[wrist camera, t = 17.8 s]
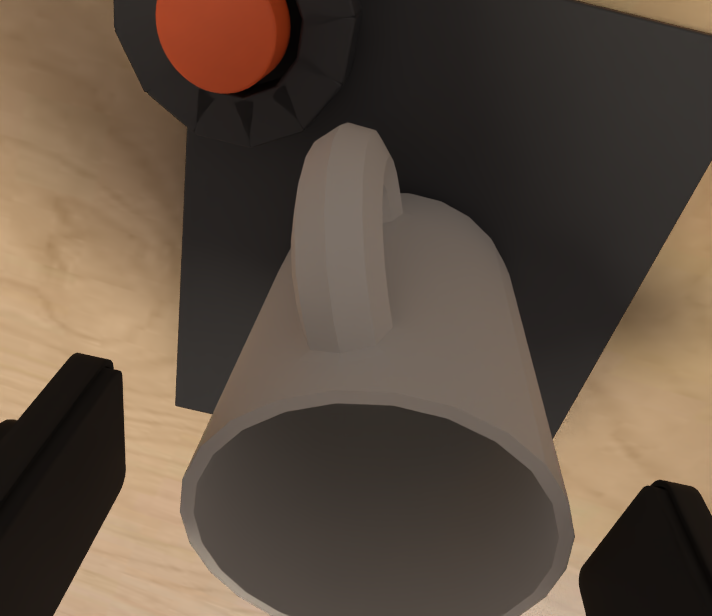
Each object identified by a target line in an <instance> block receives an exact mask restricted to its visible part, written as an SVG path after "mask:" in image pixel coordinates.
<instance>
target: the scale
mask: <svg viewBox="0 0 712 616" xmlns="http://www.w3.org/2000/svg"><path fill="white" fill-rule="evenodd" d="M286 2H287V5H288V9H289V14H290V22H291V31H290V39H289V44H288V47H287V50H286V52H285V54H284V56H283V58H282V60H281V61H280V63H279V64H278V65H277V66H276V67H275V69H273V70H272V71H271V72H270V73H269V74H267V75H266V76H265V77H263V78H262V79H261V80H260V81H258V82H257V83H256V84H254V85H253V86H251V87H250V88H248V89H245V90H243V91H240V92H237V93H230V94H219V93H214V92H210V91H207V90H204V89H202V88H199V87H197V86H196V85H194V84H192V83H191V82H189V81H188V80H187V79H186V78H184V77H183V76H182V75H181V74H180V73H179V72H178V71H177V70H176V69H175V67H174V66H173V65H172V64H171V62H170V61H169V59H168V58H167V56H166V54H165V52H164V50H163V48H162V45H161V43H160V40H159V36H158V33H157V27H156V4H157V0H114V28H115V32H116V34H117V36H118V38H119V40H120V42H121V44H122V47H123V49H124V51H125V53H126V55H127V57H128V59H129V61H130V63H131V65H132V67H133V69H134V71H135V73H136V75H137V77H138V79H139V81H140V83H141V86H142V88H143V90H144V91H145V92H147V93H148V94H149V95H150V96H151V97H152V98H153V99H154V100H155V101H157V102H158V103H159V104H160V105H161V106H163V107H164V108H165V109H166V110H167V111H168V112H170V113H171V114H172V115H173V116H174V117H176V118H177V119H178V120H179V121H180V122H182V123H183V124H184V125H185V126H186V127H187V142H186V165H185V189H184V212H183V236H182V259H181V282H180V306H179V329H178V353H177V376H176V400H175V405H176V406H178V407H183V408H187V409H192V410H196V411H200V412H205V413H209V414H213V412H214V410H215V408H216V405H217V403H218V401H219V399H220V397H221V395H222V393H223V390H224V388H225V386H226V384H227V382H228V380H229V377H230V375H231V373H232V371H233V369H234V367H235V364H236V362H237V360H238V358H239V356H240V354H241V351H242V349H243V347H244V345H245V343H246V341H247V338H248V336H249V334H250V332H251V330H252V328H253V326H254V323H255V321H256V319H257V317H258V315H259V313H260V310H261V308H262V306H263V304H264V302H265V300H266V297H267V295H268V293H269V291H270V289H271V287H272V284H273V282H274V280H275V278H276V276H277V274H278V272H279V270H280V268H281V266H282V264H283V262H284V260H285V258H286V256H287V254H288V252H289V250H290V248H291V235H292V226H293V217H294V208H295V202H296V195H297V189H298V183H299V179H300V176H301V172H302V168H303V165H304V161H305V157H306V155H307V154H308V152H309V150H310V148H311V147H312V145H313V143H314V142H315V141H316V140H318V139H319V138H321V137H322V136H324V135H326V134H327V133H329V132H330V131H332V130H333V129H335V128H337V127H338V126H340V125H342V124H345V123H352V124H355V125H359V126H363V127H366V128H370V129H373V130H376V131H377V133H378V134H379V136H380V137H381V139H382V141H383V142H384V144H385V146H386V148H387V150H388V152H389V153H390V155H391V157H392V159H393V161H394V165H395V168H396V172H397V177H398V183H399V188H400V193H410V194H414V195H418V196H422V197H426V198H430V199H434V200H438V201H441V202H443V203H445V204H447V205H448V206H450V207H452V208H454V209H456V210H457V211H459V212H461V213H463V214H465V215H466V216H468V217H470V218H471V219H472V220H473V221H474V222H475V223H476V224H477V225H478V226H479V227H480V228H481V229H482V230H483V231H484V232H485V233H486V234H487V235H488V236H489V237H490V238H491V239H492V241H493V243H494V245H495V247H496V249H497V250H498V252H499V254H500V256H501V258H502V260H503V261H504V263H505V266H506V268H507V270H508V273H509V275H510V279H511V283H512V287H513V291H514V294H515V298H516V302H517V306H518V310H519V314H520V317H521V321H522V325H523V329H524V333H525V336H526V340H527V344H528V348H529V352H530V356H531V359H532V363H533V367H534V371H535V375H536V378H537V382H538V386H539V390H540V394H541V398H542V401H543V405H544V409H545V413H546V417H547V420H548V424H549V428H550V432H551V436H552V439H553V438H554V436H555V434H556V432H557V431H558V429H559V427H560V425H561V424H562V422H563V420H564V418H565V417H566V415H567V413H568V411H569V410H570V408H571V406H572V404H573V403H574V401H575V399H576V397H577V396H578V394H579V392H580V390H581V389H582V387H583V385H584V383H585V382H586V380H587V378H588V376H589V375H590V373H591V371H592V369H593V368H594V366H595V364H596V362H597V361H598V359H599V357H600V355H601V354H602V352H603V350H604V348H605V346H606V345H607V343H608V341H609V339H610V338H611V336H612V334H613V332H614V331H615V329H616V327H617V325H618V324H619V322H620V320H621V318H622V317H623V315H624V313H625V311H626V310H627V308H628V306H629V304H630V303H631V301H632V299H633V297H634V296H635V294H636V292H637V290H638V289H639V287H640V285H641V283H642V282H643V280H644V278H645V276H646V275H647V273H648V271H649V269H650V268H651V266H652V264H653V262H654V261H655V259H656V257H657V255H658V254H659V252H660V250H661V248H662V247H663V245H664V243H665V241H666V240H667V238H668V236H669V234H670V233H671V231H672V229H673V227H674V226H675V224H676V222H677V220H678V218H679V217H680V215H681V213H682V211H683V210H684V208H685V206H686V204H687V203H688V201H689V199H690V197H691V196H692V194H693V192H694V190H695V189H696V187H697V185H698V183H699V182H700V180H701V178H702V176H703V175H704V173H705V171H706V169H707V168H708V166H709V164H710V162H711V161H712V34H709V33H705V32H701V31H697V30H693V29H689V28H685V27H681V26H677V25H673V24H669V23H665V22H661V21H657V20H653V19H649V18H645V17H641V16H637V15H633V14H629V13H625V12H621V11H617V10H613V9H609V8H605V7H601V6H597V5H593V4H589V3H585V2H581V1H577V0H286Z"/></svg>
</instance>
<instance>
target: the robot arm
mask: <svg viewBox="0 0 712 616" xmlns="http://www.w3.org/2000/svg"><path fill="white" fill-rule="evenodd" d="M125 473H126V465H125V437H124V409H123V381H122V373H121V371H119V370H114V367H113V363H112V361H111V360H108V359H104V358H99V357H95V356H90V355H85V354H81V353H75V354H73V355H72V356H71V357H70V358H69V359H68V360H67V361H66V363H65V364H64V365H63V366H62V367H61V369H60V370H59V371H58V372H57V373H56V375H55V376H54V377H53V378H52V379H51V381H50V382H49V383H48V384H47V385H46V387H45V388H44V389H43V390H42V392H41V393H40V394H39V395H38V396H37V398H36V399H35V400H34V401H33V402H32V404H31V405H30V406H29V407H28V408H27V410H26V411H25V412H24V413H23V414H22V416H21V417H20V418H19V419H18V420H5V421H3V422H1V423H0V616H53V615H54V613H55V611H56V609H57V608H58V606H59V604H60V602H61V600H62V598H63V596H64V595H65V593H66V591H67V589H68V587H69V585H70V583H71V582H72V580H73V578H74V576H75V574H76V572H77V570H78V569H79V567H80V565H81V563H82V561H83V559H84V557H85V556H86V554H87V552H88V550H89V548H90V546H91V544H92V543H93V541H94V539H95V537H96V535H97V533H98V531H99V530H100V528H101V526H102V524H103V522H104V520H105V518H106V517H107V515H108V513H109V511H110V509H111V507H112V505H113V504H114V502H115V500H116V498H117V496H118V494H119V492H120V490H121V488H122V485H123V482H124V479H125ZM579 588H580V592H581V596H582V600H583V604H584V608H585V612H586V616H712V516H711V514H710V512H709V510H708V508H707V506H706V504H705V502H704V500H703V498H702V496H701V494H700V493H699V492H698V490H697V489H695V488H694V487H691V486H687V485H682V484H678V483H673V482H668V481H664V480H657V481H655V482H654V483H653V484H651V486H645V487H644V488H643V489H642V490H641V491H640V492H639V493H638V495H637V496H636V497H635V499H634V500H633V501H632V503H631V504H630V505H629V506H628V508H627V509H626V510H625V512H624V513H623V514H622V516H621V517H620V518H619V519H618V521H617V522H616V523H615V525H614V526H613V527H612V529H611V530H610V531H609V532H608V534H607V535H606V536H605V538H604V539H603V540H602V542H601V543H600V544H599V545H598V547H597V548H596V549H595V551H594V552H593V553H592V555H591V556H590V557H589V558H588V560H587V561H586V562H585V564H584V565H583V566H582V568H581V570H580V574H579Z"/></svg>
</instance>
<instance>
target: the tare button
mask: <svg viewBox="0 0 712 616" xmlns="http://www.w3.org/2000/svg"><path fill="white" fill-rule="evenodd" d="M156 27H157V33H158V36H159V40H160V43H161V45H162V48H163V50H164V52H165V54H166V56H167V58H168V59H169V61H170V62H171V64H172V65H173V66H174V67H175V69H176V70H177V71H178V72H179V73H180V74H181V75H182V76H183V77H184V78H186V79H187V80H188V81H189V82H191V83H192V84H194V85H196V86H197V87H199V88H202V89H204V90H207V91H210V92H214V93H219V94H230V93H237V92H240V91H243V90H245V89H248V88H250V87H251V86H253V85H254V84H256V83H257V82H258V81H260V80H261V79H262V78H263V77H265V76H266V75H267V74H269V73H270V72H271V71H272V70H273V69H275V67H276V66H277V65H278V64H279V63H280V61H281V60H282V58H283V56H284V54H285V52H286V50H287V47H288V44H289V39H290V31H291V22H290V14H289V9H288V5H287V2H286V0H157V4H156Z"/></svg>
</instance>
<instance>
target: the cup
mask: <svg viewBox="0 0 712 616" xmlns="http://www.w3.org/2000/svg"><path fill="white" fill-rule="evenodd" d="M180 513H181V517H182V520H183V523H184V526H185V529H186V533H187V536H188V539H189V542H190V544H191V546H192V547H193V548H194V550H195V551H196V553H197V554H198V555H199V557H200V558H201V560H202V561H203V563H204V564H205V565H206V567H207V568H208V570H209V571H210V572H211V573H212V574H213V575H214V576H215V577H217V578H218V579H219V580H220V581H221V582H222V583H223V584H225V585H226V586H227V587H228V588H229V589H230V590H231V591H233V592H234V593H235V594H236V595H237V596H238V597H240V598H242V599H243V600H245V601H247V602H249V603H250V604H252V605H254V606H256V607H257V608H259V609H261V610H262V611H264V612H266V613H268V614H269V615H271V616H520V615H521V614H523V613H524V612H525V611H527V610H528V609H530V608H531V607H532V606H534V605H535V604H536V603H538V602H539V601H541V600H542V599H543V598H545V597H546V596H547V594H548V593H549V592H550V590H551V589H552V588H553V586H554V585H555V584H556V582H557V581H558V580H559V578H560V577H561V576H562V574H563V573H564V571H565V570H566V568H567V564H568V560H569V557H570V553H571V549H572V545H573V542H574V538H575V535H574V529H573V523H572V518H571V512H570V506H569V501H568V497H567V493H566V489H565V485H564V482H563V478H562V474H561V470H560V466H559V462H558V459H557V455H556V451H555V447H554V443H553V440H552V436H551V432H550V428H549V424H548V420H547V417H546V413H545V409H544V405H543V401H542V398H541V394H540V390H539V386H538V382H537V378H536V375H535V371H534V367H533V363H532V359H531V356H530V352H529V348H528V344H527V340H526V336H525V333H524V329H523V325H522V321H521V317H520V314H519V310H518V306H517V302H516V298H515V294H514V291H513V287H512V283H511V279H510V275H509V273H508V270H507V268H506V266H505V263H504V261H503V260H502V258H501V256H500V254H499V252H498V250H497V249H496V247H495V245H494V243H493V241H492V239H491V238H490V237H489V236H488V235H487V234H486V233H485V232H484V231H483V230H482V229H481V228H480V227H479V226H478V225H477V224H476V223H475V222H474V221H473V220H472V219H471V218H470V217H468V216H466V215H465V214H463V213H461V212H459V211H457V210H456V209H454V208H452V207H450V206H448V205H447V204H445V203H443V202H441V201H438V200H434V199H430V198H426V197H422V196H418V195H414V194H410V193H400V188H399V183H398V177H397V172H396V168H395V165H394V161H393V159H392V157H391V155H390V153H389V152H388V150H387V148H386V146H385V144H384V142H383V141H382V139H381V137H380V136H379V134H378V133H377V131H376V130H373V129H370V128H366V127H363V126H359V125H355V124H352V123H345V124H342V125H340V126H338V127H337V128H335V129H333V130H332V131H330V132H329V133H327V134H326V135H324V136H322V137H321V138H319V139H318V140H316V141H315V142H314V143H313V145H312V147H311V148H310V150H309V152H308V154H307V155H306V157H305V161H304V165H303V168H302V172H301V176H300V179H299V183H298V189H297V195H296V202H295V208H294V217H293V226H292V235H291V248H290V250H289V252H288V254H287V256H286V258H285V260H284V262H283V264H282V266H281V268H280V270H279V272H278V274H277V276H276V278H275V280H274V282H273V284H272V287H271V289H270V291H269V293H268V295H267V297H266V300H265V302H264V304H263V306H262V308H261V310H260V313H259V315H258V317H257V319H256V321H255V323H254V326H253V328H252V330H251V332H250V334H249V336H248V338H247V341H246V343H245V345H244V347H243V349H242V351H241V354H240V356H239V358H238V360H237V362H236V364H235V367H234V369H233V371H232V373H231V375H230V377H229V380H228V382H227V384H226V386H225V388H224V390H223V393H222V395H221V397H220V399H219V401H218V403H217V405H216V408H215V410H214V412H213V414H212V416H211V418H210V421H209V423H208V425H207V427H206V429H205V431H204V434H203V436H202V438H201V440H200V442H199V444H198V447H197V449H196V451H195V453H194V455H193V457H192V460H191V462H190V464H189V466H188V468H187V470H186V472H185V475H184V477H183V479H182V492H181V505H180Z"/></svg>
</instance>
